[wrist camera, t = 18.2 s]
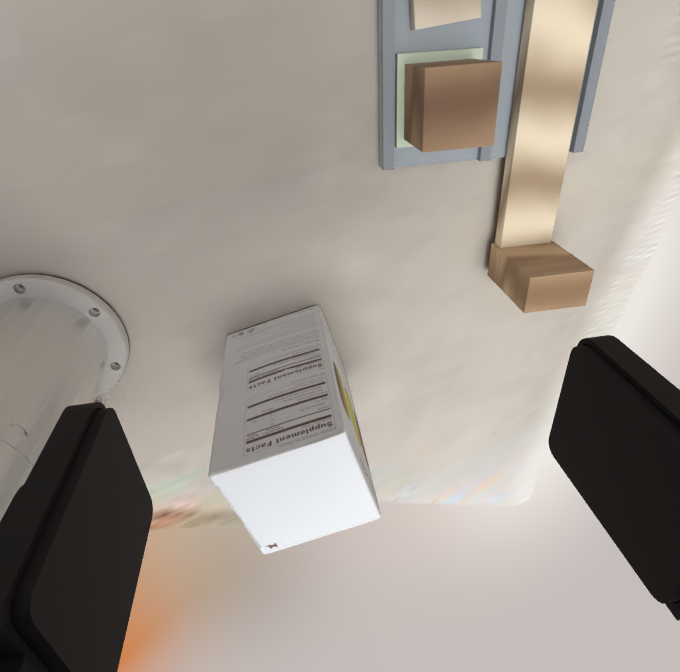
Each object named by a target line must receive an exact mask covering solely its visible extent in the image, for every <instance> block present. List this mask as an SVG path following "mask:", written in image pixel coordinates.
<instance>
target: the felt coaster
mask: <svg viewBox="0 0 680 672" xmlns="http://www.w3.org/2000/svg"><path fill="white" fill-rule="evenodd" d="M482 57H483V48H470V49H455V50H441V51H427V52H413V53H398V54H395V147H396V148H404V147H414V146H413V145H411V144H410V143H408V142H407V141H405V140H404V83H405V64H416V63H428V62H440V61H452V60H464V59H480V60H482Z"/></svg>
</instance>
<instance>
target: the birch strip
mask: <svg viewBox="0 0 680 672" xmlns="http://www.w3.org/2000/svg"><path fill="white" fill-rule="evenodd" d="M597 4H598V0H526V6H525V14H524V21H523V29H522V37H521V45H520V52H519V60H518V68H517V76H516V83H515V91H514V99H513V106H512V114H511V122H510V130H509V137H508V145H507V153H506V161H505V168H504V176H503V184H502V191H501V199H500V207H499V215H498V222H497V230H496V238H495V243H491V251H490V259H489V267H488V276H489V277H490V278H491V279H492V280H493V281H494V282H495V283H496V284H497V285H498V286H499V287H500V288H501V289H502V290H503V292H504V293H505V294H506V295H507V296H508V297H509V298H510V299H511V300H512V301H513V302H514V303H515V304H516V305H517V306H518V307H519V308H520V309H521V310H522V311H523V312H524V313H528V312H536V311H545V310H553V309H561V308H569V307H577V306H585V305H586V301H587V297H588V293H589V289H590V285H591V282H592V278H593V274H594V270H593V269H592V268H590V267H589V266H588V265H586V264H585V263H583V262H582V261H580V260H579V259H577V258H576V257H575V256H573V255H572V254H570V253H569V252H567V251H566V250H565V249H563V248H562V247H560V246H559V245H557V244H556V243H554V242H553V241H552V240H551V238H552V233H553V228H554V222H555V217H556V212H557V207H558V202H559V197H560V192H561V187H562V182H563V177H564V172H565V167H566V162H567V156H568V151H569V146H570V141H571V136H572V131H573V126H574V121H575V116H576V111H577V106H578V101H579V95H580V90H581V85H582V80H583V75H584V70H585V65H586V60H587V55H588V50H589V45H590V40H591V35H592V29H593V24H594V19H595V14H596V9H597Z"/></svg>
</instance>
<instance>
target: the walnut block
mask: <svg viewBox="0 0 680 672" xmlns="http://www.w3.org/2000/svg"><path fill="white" fill-rule="evenodd" d="M501 71H502V61H491V60H480V59H464V60H452V61H440V62H428V63H416V64H405V83H404V140H405V141H407V142H408V143H410V144H411V145H413V146H414V147H415V148H417V149H418V150H420V151H421V152H422V153H424V152H434V151H444V150H454V149H464V148H474V147H484V146H494V137H495V127H496V118H497V108H498V99H499V90H500V80H501Z"/></svg>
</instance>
